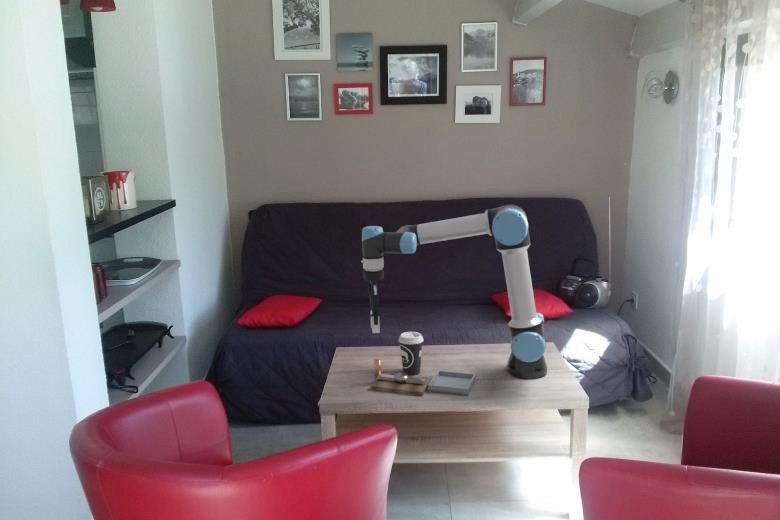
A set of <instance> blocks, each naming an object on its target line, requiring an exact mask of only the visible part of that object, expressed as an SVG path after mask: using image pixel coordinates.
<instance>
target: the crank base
mask: <svg viewBox="0 0 780 520" xmlns="http://www.w3.org/2000/svg"><path fill="white" fill-rule="evenodd" d="M382 374H387V375H395V374H396V373H387V372H384V373H382ZM408 377H415V378H425V379H426V382H425V384H417V383H407V382H406V383H396V382H395V381H389V380H380V379H376V380H375V381H374V382H373V384H372V385H371V391H373V390H375V391H376V392H383V393H393V394H399V395H400V394H401V395H411V396H418V397H423V396H424V394H425V393H426V391H428V384H429V383H430V381H431V380H432V378H433V377H427V376H426V377H424V376H417V375H408ZM375 391H374V392H375Z"/></svg>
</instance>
